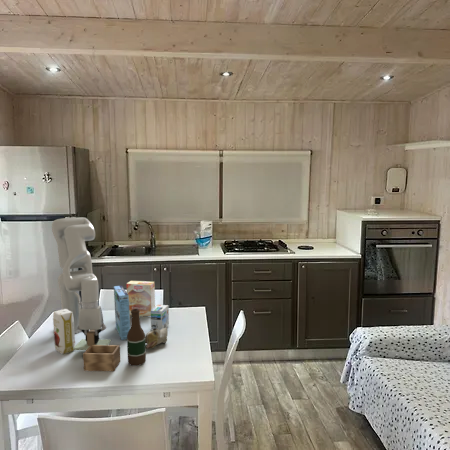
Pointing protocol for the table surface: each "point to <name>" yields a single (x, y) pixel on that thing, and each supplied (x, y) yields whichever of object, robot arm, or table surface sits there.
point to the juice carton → (64, 331)
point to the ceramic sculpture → (156, 337)
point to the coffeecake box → (141, 296)
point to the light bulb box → (159, 317)
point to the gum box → (122, 311)
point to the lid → (90, 341)
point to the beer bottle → (136, 341)
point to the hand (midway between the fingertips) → (92, 342)
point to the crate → (101, 358)
